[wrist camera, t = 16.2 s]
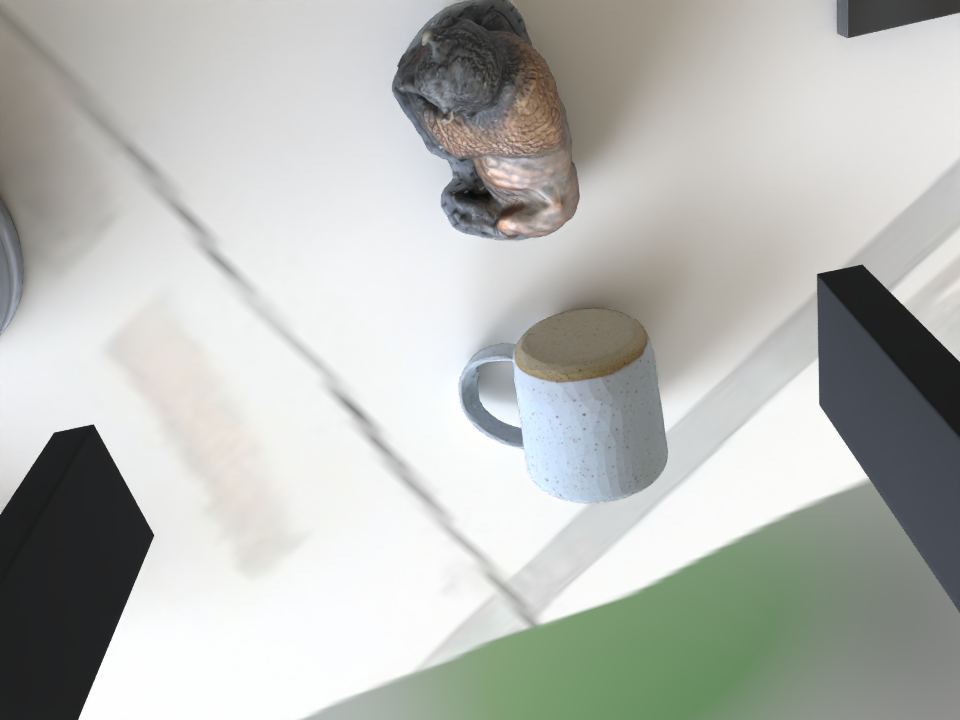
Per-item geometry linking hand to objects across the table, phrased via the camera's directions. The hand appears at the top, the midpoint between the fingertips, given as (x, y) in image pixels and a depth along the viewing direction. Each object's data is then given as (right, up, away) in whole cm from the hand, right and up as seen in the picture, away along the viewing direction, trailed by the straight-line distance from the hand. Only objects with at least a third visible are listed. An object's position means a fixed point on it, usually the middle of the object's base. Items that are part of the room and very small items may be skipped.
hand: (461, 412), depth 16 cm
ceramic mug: (+5, 0, +34) cm, 34 cm away
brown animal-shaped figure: (+1, +13, +26) cm, 29 cm away
